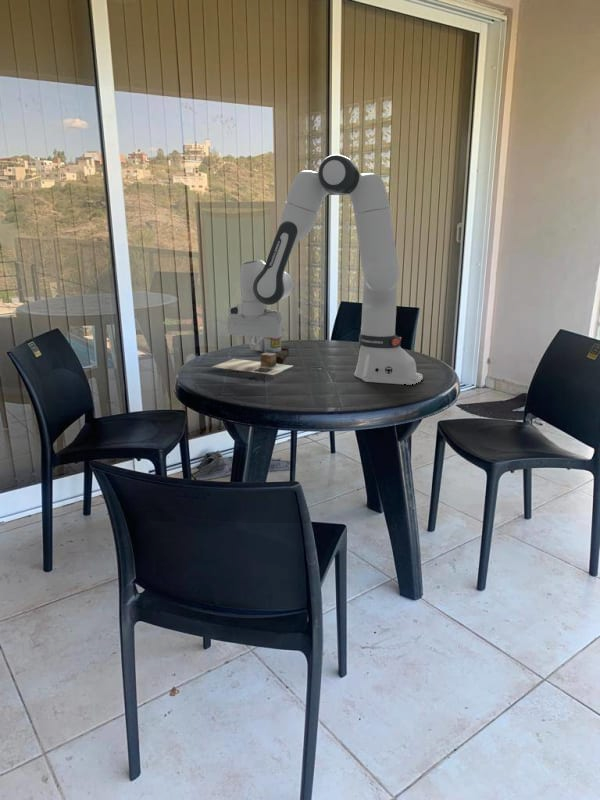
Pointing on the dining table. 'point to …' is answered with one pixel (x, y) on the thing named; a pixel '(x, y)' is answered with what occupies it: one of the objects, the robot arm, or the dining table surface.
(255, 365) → the birch board
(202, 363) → the dining table surface
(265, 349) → the beverage can
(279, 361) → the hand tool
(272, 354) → the walnut cube
